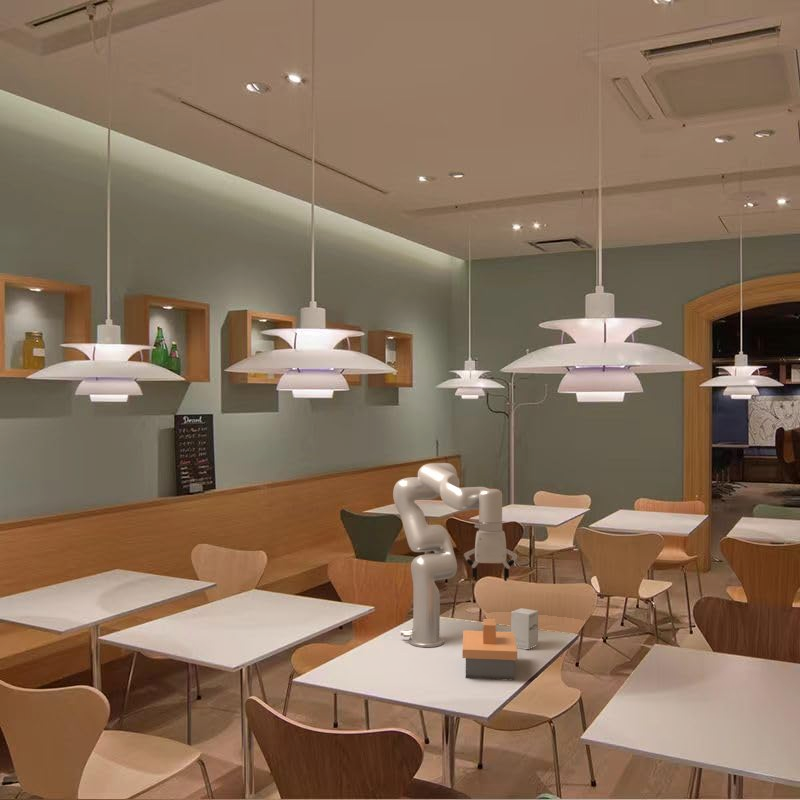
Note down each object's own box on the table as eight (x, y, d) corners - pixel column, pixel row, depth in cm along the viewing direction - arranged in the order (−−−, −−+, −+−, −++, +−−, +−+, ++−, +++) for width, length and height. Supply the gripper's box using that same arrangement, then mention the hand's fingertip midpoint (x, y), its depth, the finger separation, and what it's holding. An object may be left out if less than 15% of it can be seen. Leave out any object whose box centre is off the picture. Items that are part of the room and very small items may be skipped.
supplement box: (528, 650, 289) (528, 614, 289) (510, 646, 294) (510, 611, 294) (538, 645, 295) (538, 610, 295) (520, 642, 300) (520, 607, 300)
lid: (462, 658, 259) (462, 630, 259) (463, 638, 280) (463, 612, 280) (517, 660, 257) (517, 632, 257) (513, 640, 279) (514, 614, 279)
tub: (465, 678, 259) (465, 652, 259) (466, 658, 279) (466, 634, 279) (513, 679, 258) (514, 654, 258) (510, 660, 278) (511, 636, 278)
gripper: (463, 528, 267) (463, 581, 266) (518, 529, 265) (518, 582, 265) (464, 525, 274) (463, 577, 274) (516, 526, 273) (516, 578, 272)
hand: (490, 579), depth 269 cm, fingers open, 9 cm apart
